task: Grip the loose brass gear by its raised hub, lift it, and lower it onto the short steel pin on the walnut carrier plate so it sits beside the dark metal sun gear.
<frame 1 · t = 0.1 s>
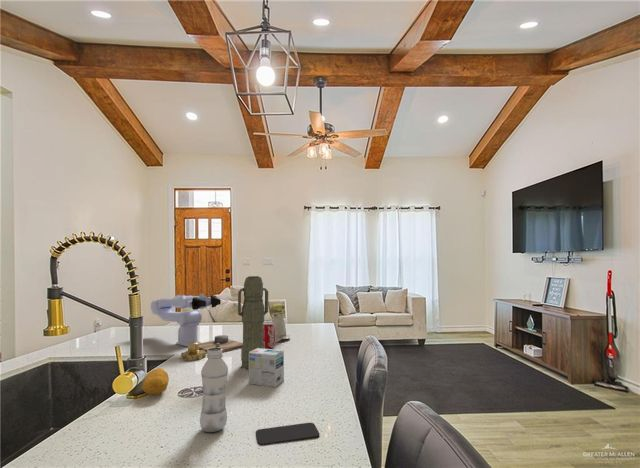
hand: (212, 302, 167), 22 cm above the countertop, tool horizontal, fingers open, 7 cm apart
phone: (287, 436, 90), on the countertop
white paper bag: (277, 340, 187), on the countertop
carrier plate: (219, 347, 172), on the countertop
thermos: (252, 366, 144), on the countertop
light bulb box: (266, 383, 126), on the countertop
soda can: (267, 349, 169), on the countertop
brass gear: (193, 357, 155), on the countertop
potato: (155, 393, 117), on the countertop
plastic bottle: (213, 430, 93), on the countertop
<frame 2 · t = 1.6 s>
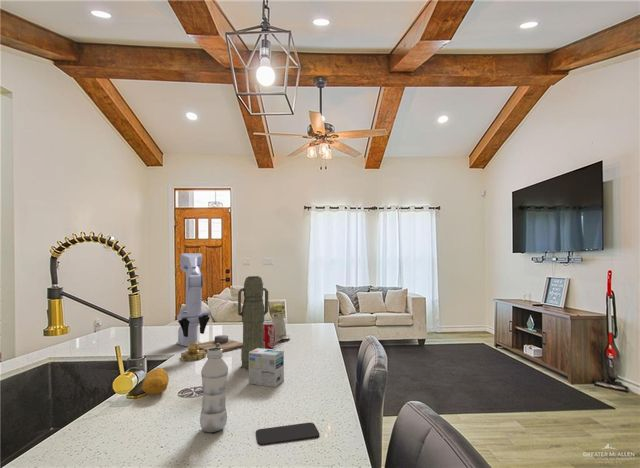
hand: (194, 334, 156), 9 cm above the countertop, tool pointing down, fingers open, 7 cm apart
nothing on the countertop moved.
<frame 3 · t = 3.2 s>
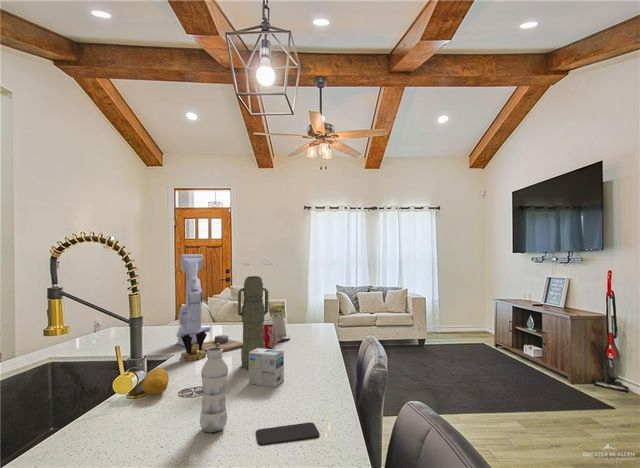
hand: (193, 351, 156), 2 cm above the countertop, tool pointing down, fingers closed on brass gear, 4 cm apart
brass gear: (193, 357, 155), on the countertop, touching gripper
everything else where it was.
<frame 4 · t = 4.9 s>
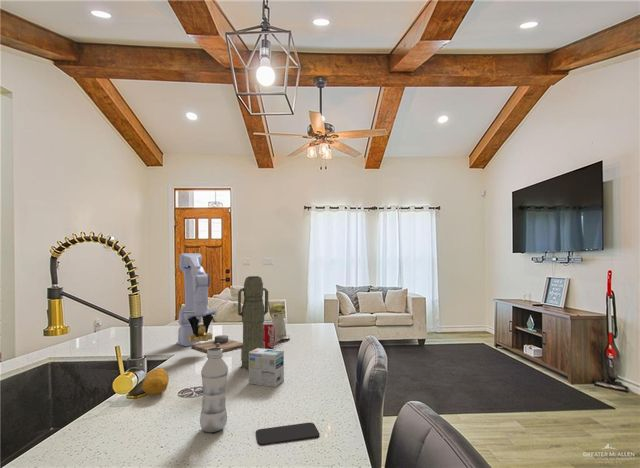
hand: (200, 333, 159), 9 cm above the countertop, tool pointing down, fingers closed on brass gear, 4 cm apart
brass gear: (200, 339, 159), point 7 cm above the countertop, touching gripper
everything else where it was.
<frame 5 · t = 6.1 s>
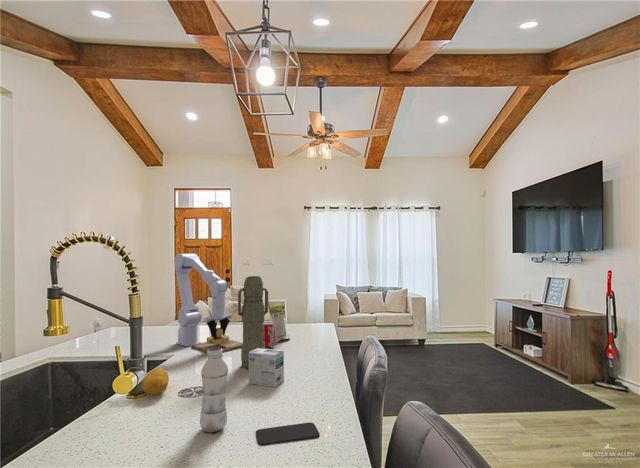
hand: (218, 336, 169), 6 cm above the countertop, tool pointing down, fingers closed on brass gear, 4 cm apart
brass gear: (218, 341, 169), point 3 cm above the countertop, touching gripper
everything else where it was.
when the fingers open (4 cm above the countertop, at t = 6.8 s): brass gear stays where it is, resting on carrier plate.
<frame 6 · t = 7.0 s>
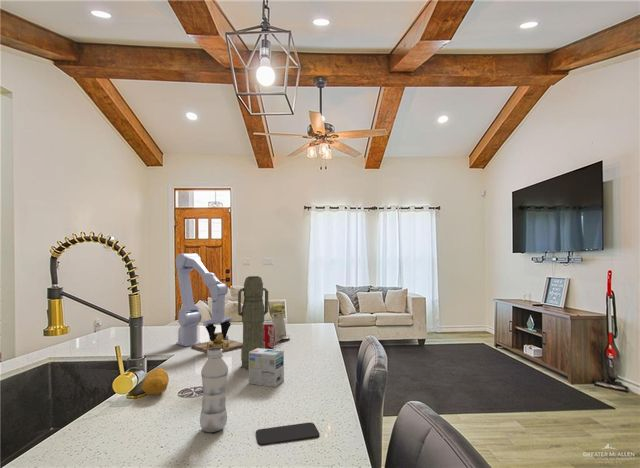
hand: (217, 339, 169), 4 cm above the countertop, tool pointing down, fingers open, 6 cm apart
brass gear: (218, 346, 169), point 1 cm above the countertop, touching carrier plate
everything else where it was.
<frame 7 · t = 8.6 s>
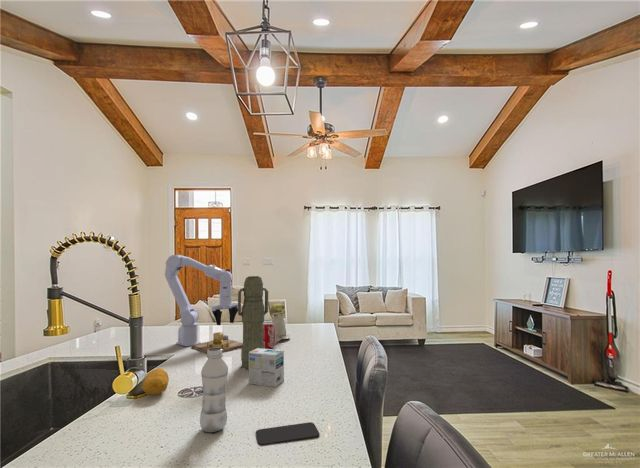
hand: (225, 323, 180), 9 cm above the countertop, tool pointing down, fingers open, 7 cm apart
nothing on the countertop moved.
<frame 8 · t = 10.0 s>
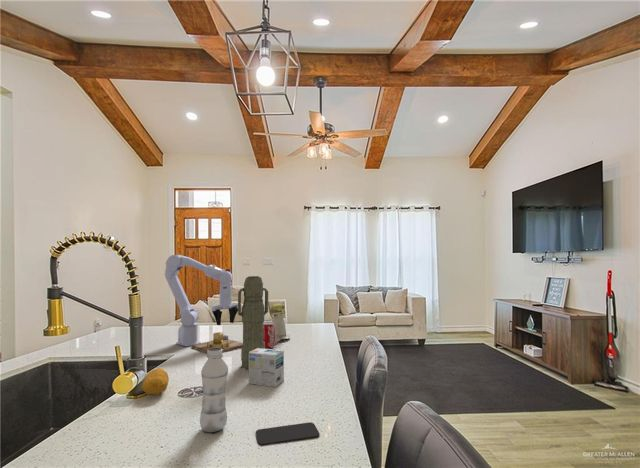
hand: (225, 323, 180), 9 cm above the countertop, tool pointing down, fingers open, 7 cm apart
nothing on the countertop moved.
at the end: brass gear 0.1 cm from the target spot on the carrier plate, point 1.2 cm above the carrier plate's base; brass gear tilted 0°; the gripper is holding nothing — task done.
